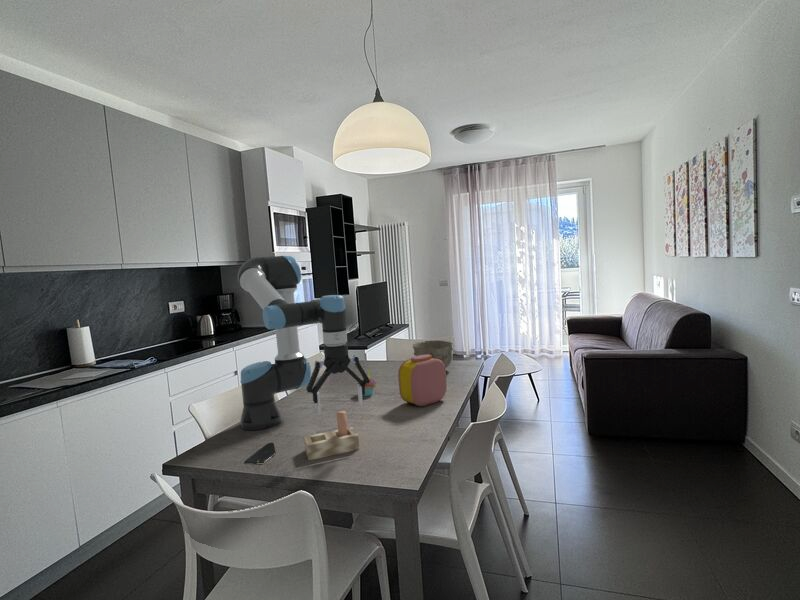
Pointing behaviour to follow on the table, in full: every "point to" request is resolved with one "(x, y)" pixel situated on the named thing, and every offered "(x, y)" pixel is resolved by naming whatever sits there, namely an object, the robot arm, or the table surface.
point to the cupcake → (369, 386)
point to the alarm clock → (422, 380)
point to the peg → (342, 423)
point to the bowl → (435, 350)
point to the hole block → (330, 443)
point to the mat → (327, 430)
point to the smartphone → (262, 454)
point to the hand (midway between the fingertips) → (340, 408)
